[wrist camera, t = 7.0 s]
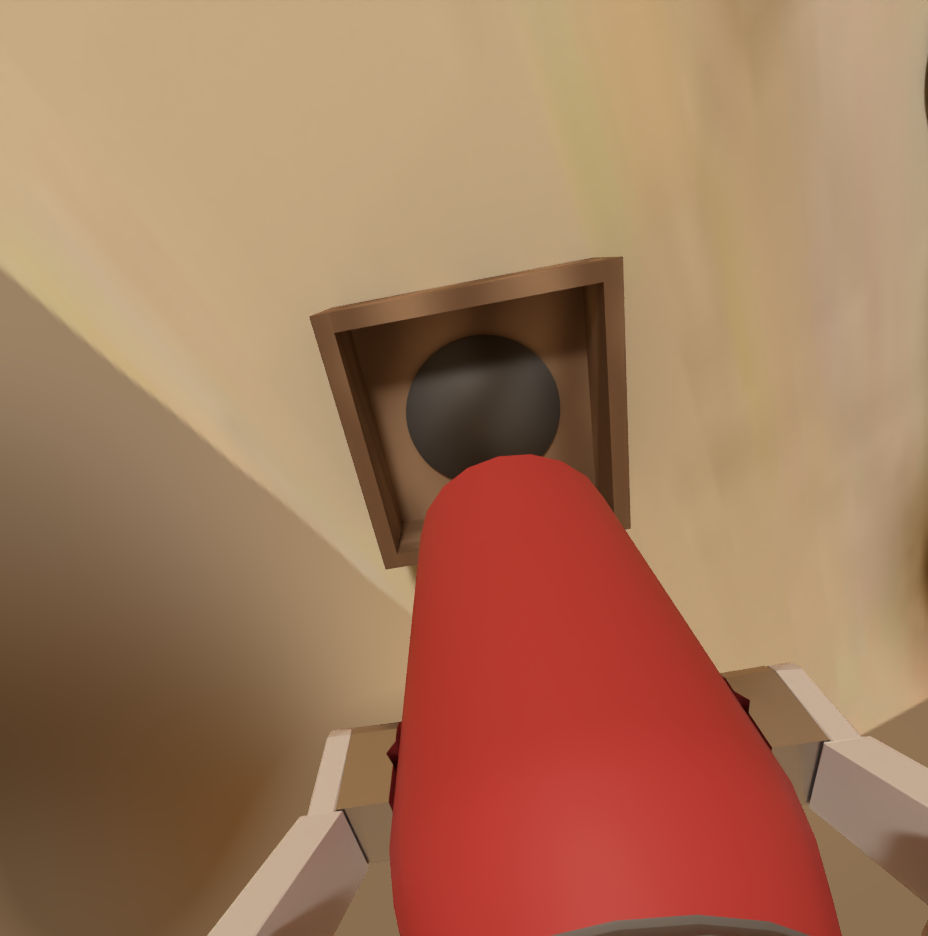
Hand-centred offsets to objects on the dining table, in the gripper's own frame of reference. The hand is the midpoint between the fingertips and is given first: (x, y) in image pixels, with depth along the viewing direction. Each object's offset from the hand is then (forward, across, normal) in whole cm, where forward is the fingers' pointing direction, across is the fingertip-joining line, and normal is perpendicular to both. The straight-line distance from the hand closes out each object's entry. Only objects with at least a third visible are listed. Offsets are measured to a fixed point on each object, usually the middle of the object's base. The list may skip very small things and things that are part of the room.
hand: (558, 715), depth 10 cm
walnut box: (+23, 0, 0) cm, 23 cm away
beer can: (+7, 0, 0) cm, 7 cm away
